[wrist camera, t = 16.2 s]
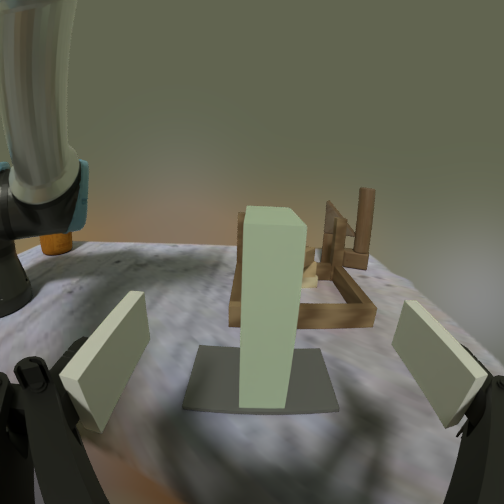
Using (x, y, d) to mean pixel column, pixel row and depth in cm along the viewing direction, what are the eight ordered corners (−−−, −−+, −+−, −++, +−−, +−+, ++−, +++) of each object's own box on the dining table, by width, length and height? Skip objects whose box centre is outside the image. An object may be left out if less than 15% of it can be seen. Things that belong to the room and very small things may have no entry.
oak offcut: (271, 278, 48) (272, 263, 48) (267, 271, 52) (268, 257, 51) (315, 277, 50) (316, 263, 49) (308, 270, 53) (310, 257, 52)
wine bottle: (60, 245, 70) (56, 142, 61) (80, 248, 67) (76, 137, 59) (35, 254, 60) (30, 143, 52) (54, 258, 58) (48, 137, 50)
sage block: (238, 407, 22) (243, 223, 18) (242, 350, 31) (247, 205, 26) (284, 408, 22) (307, 226, 18) (277, 351, 31) (289, 207, 26)
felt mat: (182, 409, 22) (182, 406, 22) (199, 347, 31) (199, 345, 31) (338, 411, 22) (339, 408, 22) (319, 351, 32) (319, 348, 31)
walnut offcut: (269, 258, 51) (270, 243, 50) (280, 254, 53) (281, 240, 53) (304, 267, 47) (306, 252, 46) (313, 262, 49) (315, 247, 49)
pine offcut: (267, 292, 49) (268, 278, 48) (263, 284, 52) (264, 271, 52) (316, 290, 50) (318, 277, 50) (309, 283, 54) (311, 270, 53)
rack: (228, 326, 36) (229, 236, 33) (237, 273, 56) (238, 212, 52) (372, 327, 37) (389, 244, 33) (337, 277, 56) (344, 217, 52)
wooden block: (322, 259, 67) (329, 183, 62) (366, 266, 63) (376, 189, 58) (320, 263, 64) (327, 183, 59) (366, 271, 60) (376, 189, 55)
